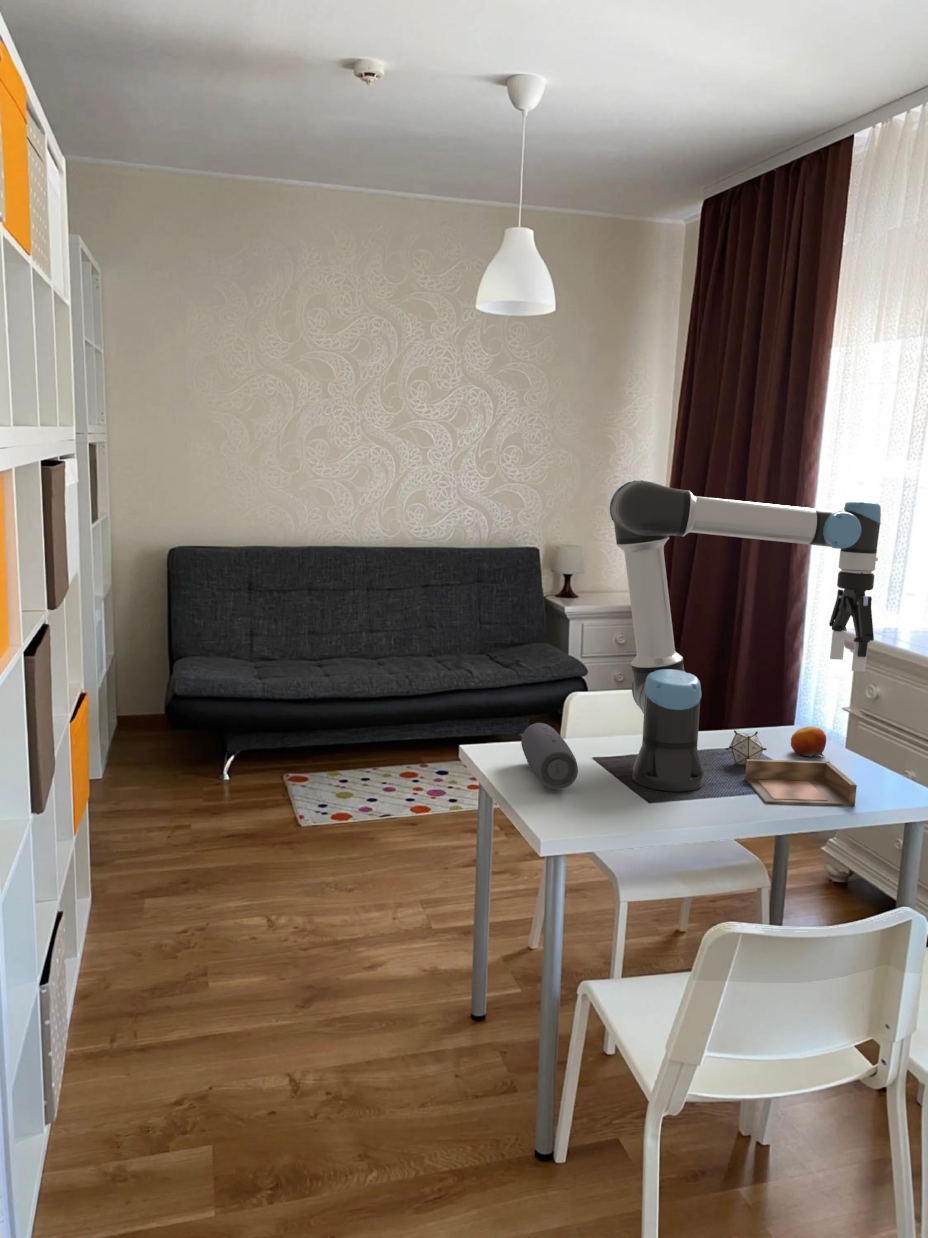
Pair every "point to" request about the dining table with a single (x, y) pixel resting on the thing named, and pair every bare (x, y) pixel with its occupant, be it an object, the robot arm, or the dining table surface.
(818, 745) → the fruit
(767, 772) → the brown wooden tray
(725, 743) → the dining table surface
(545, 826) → the dining table surface
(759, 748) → the game die
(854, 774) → the dining table surface
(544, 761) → the bluetooth speaker
